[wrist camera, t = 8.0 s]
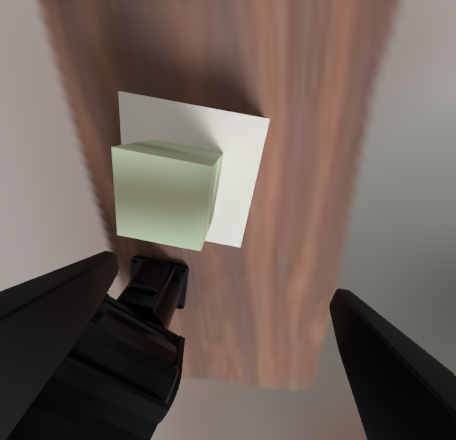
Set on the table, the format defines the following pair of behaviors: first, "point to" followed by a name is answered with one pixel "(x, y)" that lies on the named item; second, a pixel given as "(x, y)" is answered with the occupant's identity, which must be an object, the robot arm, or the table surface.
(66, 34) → the table surface
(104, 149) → the table surface
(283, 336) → the table surface
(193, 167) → the green cube
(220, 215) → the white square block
